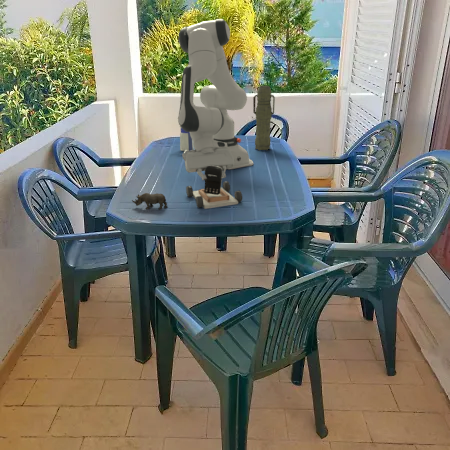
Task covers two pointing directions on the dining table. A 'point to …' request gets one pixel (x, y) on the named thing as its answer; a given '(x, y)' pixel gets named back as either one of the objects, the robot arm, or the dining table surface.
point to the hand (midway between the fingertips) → (214, 178)
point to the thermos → (263, 117)
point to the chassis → (214, 197)
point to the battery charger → (213, 179)
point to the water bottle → (185, 141)
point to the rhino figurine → (151, 200)
